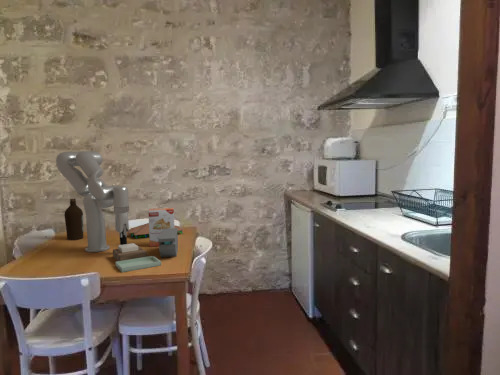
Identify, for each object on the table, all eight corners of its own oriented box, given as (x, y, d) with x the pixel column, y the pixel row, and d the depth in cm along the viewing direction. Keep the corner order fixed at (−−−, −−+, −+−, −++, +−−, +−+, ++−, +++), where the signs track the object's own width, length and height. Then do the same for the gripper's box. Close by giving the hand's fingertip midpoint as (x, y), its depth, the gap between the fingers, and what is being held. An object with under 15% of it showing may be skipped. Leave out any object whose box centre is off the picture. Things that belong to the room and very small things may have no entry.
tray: (115, 265, 185) (115, 261, 185) (153, 259, 195) (152, 255, 195) (122, 272, 175) (121, 268, 175) (161, 265, 185) (161, 261, 184)
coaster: (118, 249, 201) (118, 245, 201) (134, 246, 205) (133, 243, 205) (122, 252, 194) (121, 248, 194) (138, 250, 198) (138, 246, 198)
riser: (113, 257, 201) (112, 249, 200) (138, 253, 207) (138, 245, 207) (120, 264, 187) (120, 256, 187) (147, 260, 194) (147, 252, 194)
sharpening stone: (175, 260, 193) (174, 238, 192) (159, 260, 192) (158, 239, 191) (178, 247, 218) (177, 228, 217) (163, 248, 217) (163, 228, 216)
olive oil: (67, 241, 239) (65, 200, 237) (64, 238, 248) (61, 198, 246) (86, 238, 245) (83, 198, 243) (82, 235, 254) (80, 197, 252)
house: (126, 233, 260) (125, 221, 259) (176, 228, 272) (175, 217, 272) (130, 240, 239) (129, 227, 238) (184, 235, 251) (183, 222, 251)
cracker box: (149, 247, 220) (147, 210, 218) (150, 244, 226) (148, 208, 224) (175, 245, 223) (173, 208, 221) (175, 243, 229) (173, 207, 227)
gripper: (110, 209, 210) (112, 243, 212) (117, 212, 197) (119, 248, 199) (125, 207, 214) (127, 241, 216) (132, 211, 201) (134, 246, 203)
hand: (123, 244), depth 207 cm, fingers closed
